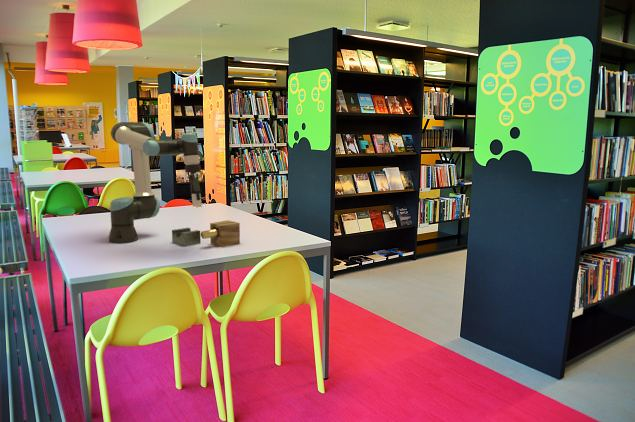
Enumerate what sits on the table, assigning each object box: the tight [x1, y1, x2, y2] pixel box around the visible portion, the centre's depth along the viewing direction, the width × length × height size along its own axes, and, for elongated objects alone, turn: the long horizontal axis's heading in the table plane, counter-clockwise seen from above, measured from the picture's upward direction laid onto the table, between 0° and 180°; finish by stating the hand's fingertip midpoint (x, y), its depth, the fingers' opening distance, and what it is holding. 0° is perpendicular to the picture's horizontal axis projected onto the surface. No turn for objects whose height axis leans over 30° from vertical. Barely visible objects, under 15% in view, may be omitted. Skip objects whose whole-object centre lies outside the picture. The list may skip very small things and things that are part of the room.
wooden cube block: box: [209, 220, 241, 248], centre depth 269 cm, size 10×12×12 cm
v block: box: [171, 227, 202, 247], centre depth 270 cm, size 12×10×7 cm
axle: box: [200, 229, 219, 240], centre depth 265 cm, size 18×4×4 cm, turn 137°
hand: (197, 206), depth 250 cm, fingers open, 13 cm apart
